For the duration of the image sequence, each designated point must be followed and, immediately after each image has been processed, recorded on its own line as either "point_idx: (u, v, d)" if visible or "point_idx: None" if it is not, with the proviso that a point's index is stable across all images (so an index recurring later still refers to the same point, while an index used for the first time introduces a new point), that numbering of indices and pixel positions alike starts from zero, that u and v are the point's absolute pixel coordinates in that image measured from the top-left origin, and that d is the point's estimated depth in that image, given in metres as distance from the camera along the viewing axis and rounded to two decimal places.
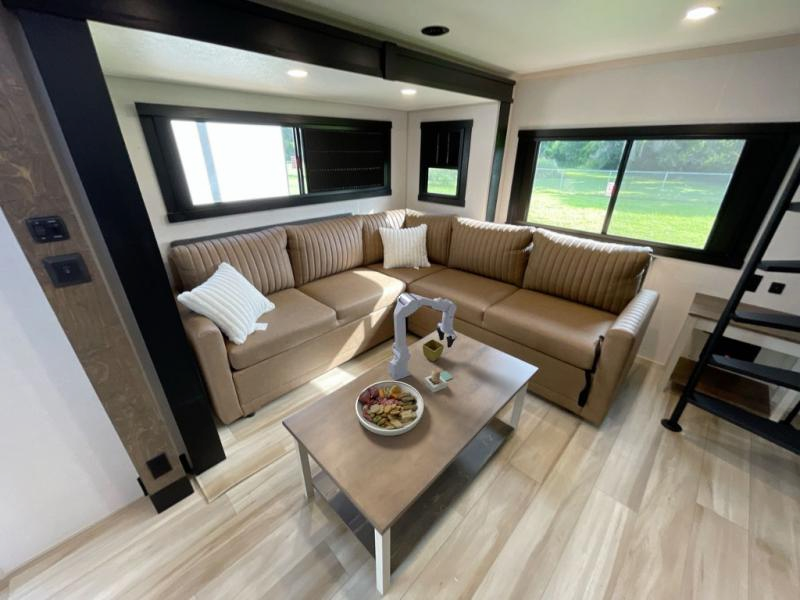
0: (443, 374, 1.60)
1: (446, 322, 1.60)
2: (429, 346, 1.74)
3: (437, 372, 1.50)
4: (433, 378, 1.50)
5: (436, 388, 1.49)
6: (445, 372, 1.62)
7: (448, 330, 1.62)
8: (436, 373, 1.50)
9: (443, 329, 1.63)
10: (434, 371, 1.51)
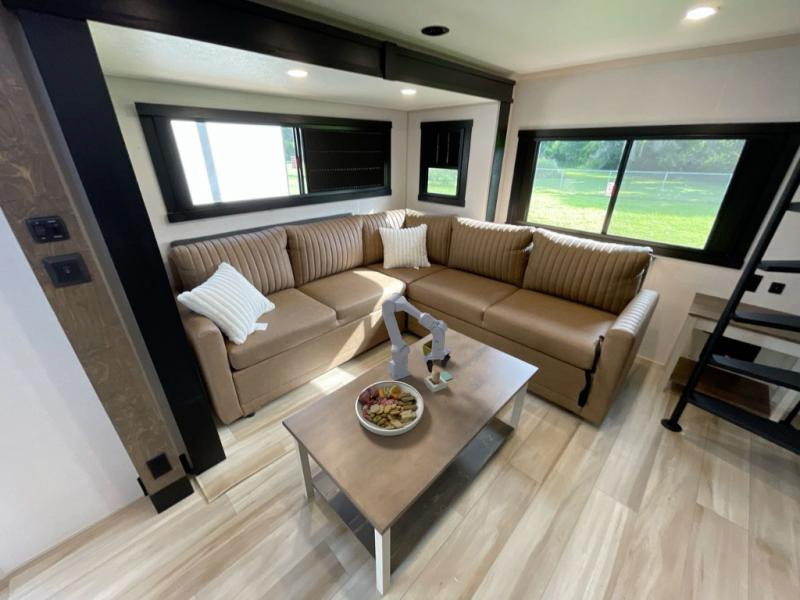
0: (443, 374, 1.60)
1: (432, 344, 1.42)
2: (429, 346, 1.74)
3: (437, 372, 1.50)
4: (433, 378, 1.50)
5: (436, 388, 1.49)
6: (445, 372, 1.62)
7: (431, 353, 1.44)
8: (436, 373, 1.50)
9: None
10: (434, 371, 1.51)
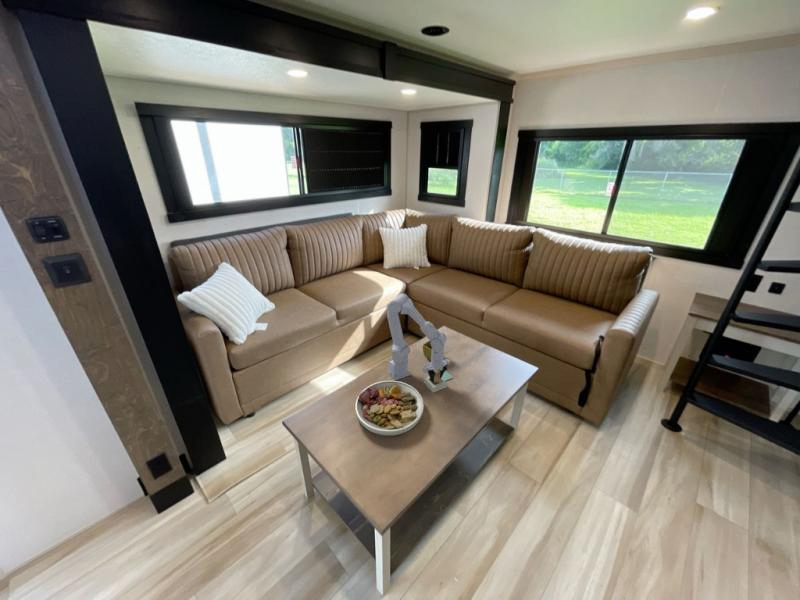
0: (443, 374, 1.60)
1: (431, 355, 1.45)
2: (429, 346, 1.74)
3: (437, 372, 1.50)
4: None
5: (436, 388, 1.49)
6: (445, 372, 1.62)
7: (431, 363, 1.47)
8: (436, 373, 1.50)
9: None
10: (434, 371, 1.51)
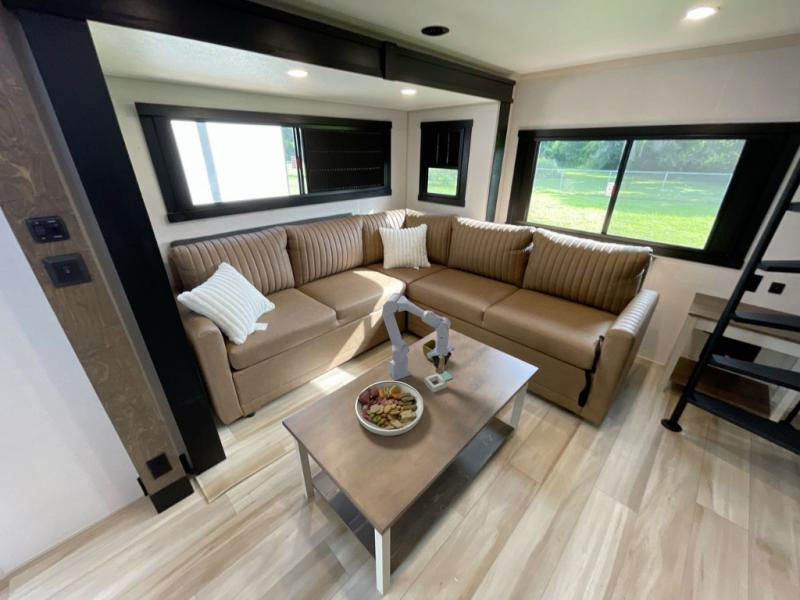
0: (443, 374, 1.60)
1: (436, 341, 1.43)
2: (429, 346, 1.74)
3: (442, 358, 1.49)
4: None
5: (436, 388, 1.49)
6: (445, 372, 1.62)
7: (435, 349, 1.46)
8: (441, 359, 1.48)
9: None
10: (439, 357, 1.50)
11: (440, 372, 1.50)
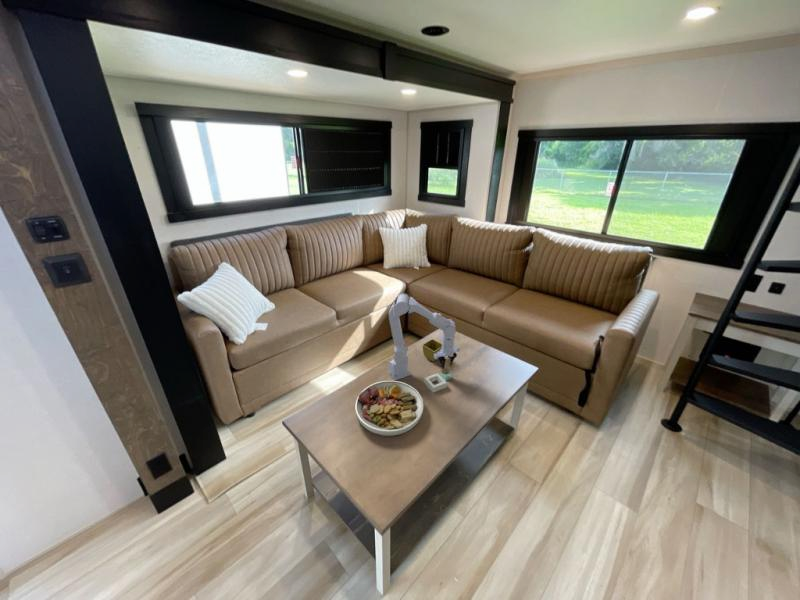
0: (443, 374, 1.60)
1: (443, 343, 1.48)
2: (429, 346, 1.74)
3: (447, 359, 1.54)
4: None
5: (436, 388, 1.49)
6: None
7: (441, 350, 1.51)
8: (447, 360, 1.54)
9: None
10: (445, 358, 1.55)
11: (446, 372, 1.56)
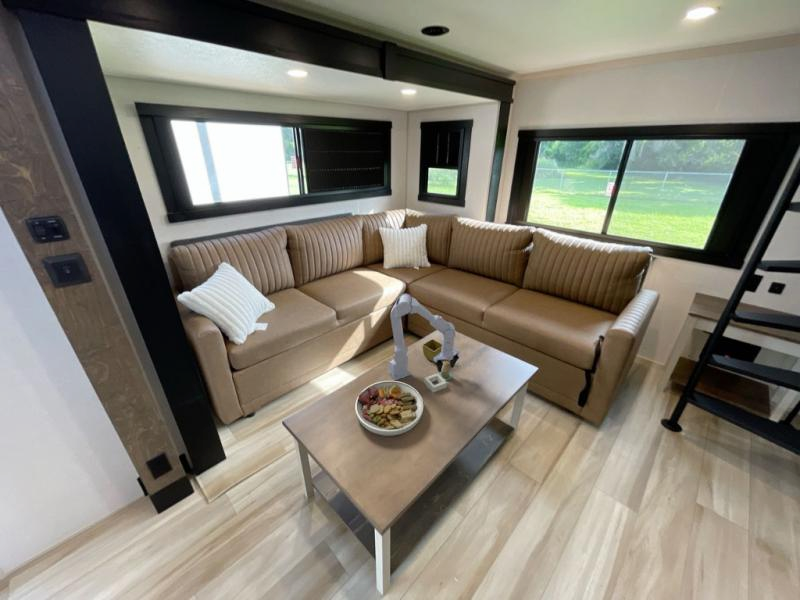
0: None
1: (443, 346, 1.49)
2: (429, 346, 1.74)
3: (447, 363, 1.56)
4: (443, 369, 1.56)
5: (436, 388, 1.49)
6: None
7: (441, 353, 1.52)
8: (446, 364, 1.55)
9: None
10: (444, 362, 1.56)
11: (446, 376, 1.57)
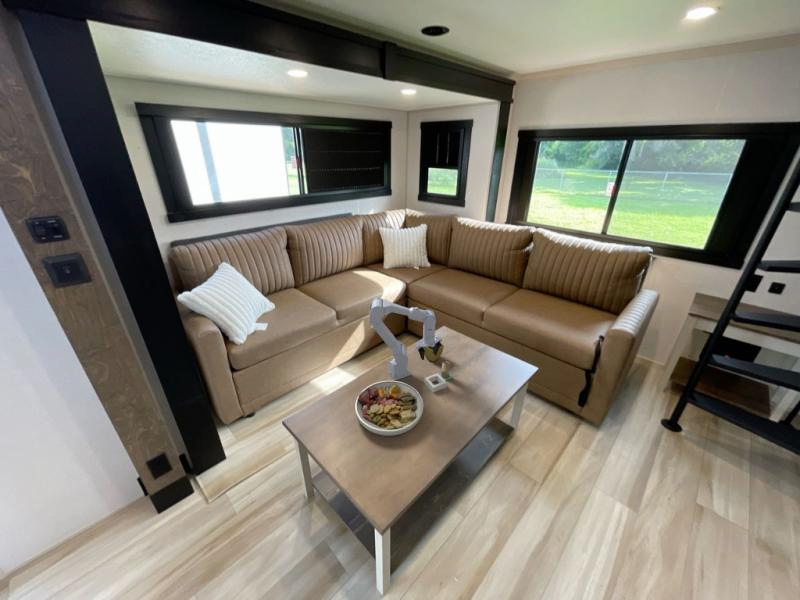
0: None
1: (425, 334, 1.49)
2: (429, 346, 1.74)
3: (447, 363, 1.56)
4: (443, 369, 1.56)
5: (436, 388, 1.49)
6: None
7: (423, 340, 1.52)
8: (446, 364, 1.55)
9: None
10: (444, 362, 1.56)
11: (446, 376, 1.57)
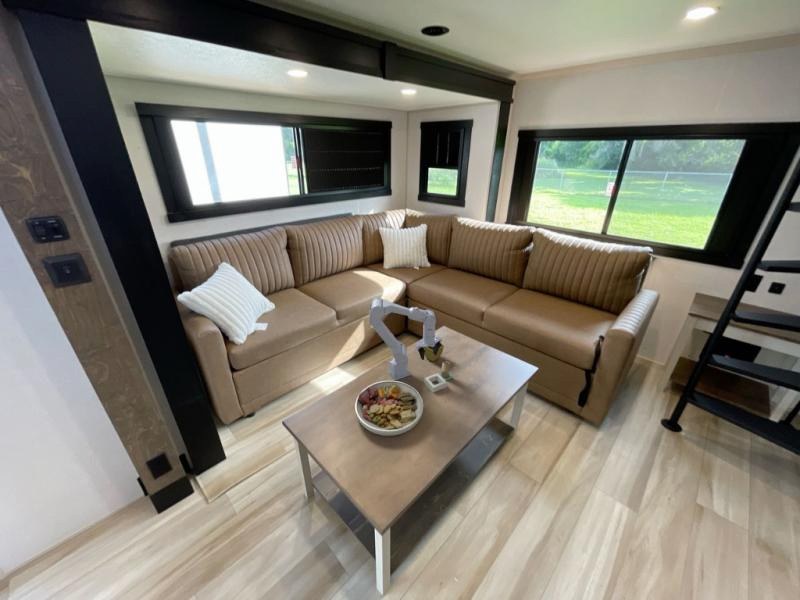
0: None
1: (425, 334, 1.49)
2: (429, 346, 1.74)
3: (447, 363, 1.56)
4: (443, 369, 1.56)
5: (436, 388, 1.49)
6: None
7: (423, 340, 1.52)
8: (446, 364, 1.55)
9: None
10: (444, 362, 1.56)
11: (446, 376, 1.57)
